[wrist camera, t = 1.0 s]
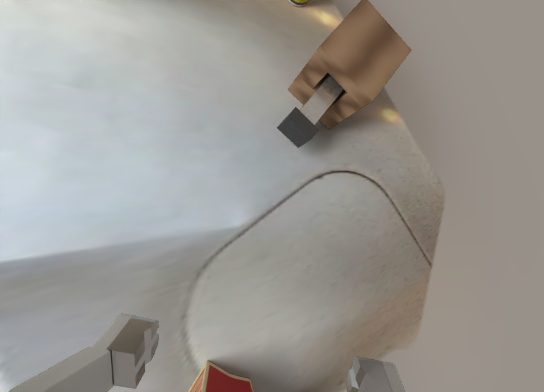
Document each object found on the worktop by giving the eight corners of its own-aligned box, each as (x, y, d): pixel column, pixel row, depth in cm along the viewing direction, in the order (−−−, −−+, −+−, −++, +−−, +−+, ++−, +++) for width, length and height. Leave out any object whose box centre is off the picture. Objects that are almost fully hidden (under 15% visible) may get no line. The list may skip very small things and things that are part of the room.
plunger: (276, 127, 39) (287, 117, 35) (321, 75, 42) (336, 60, 38) (298, 147, 40) (310, 139, 36) (341, 95, 43) (357, 82, 39)
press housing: (287, 89, 46) (320, 45, 34) (323, 49, 48) (364, -4, 37) (328, 129, 47) (372, 100, 36) (360, 89, 50) (411, 50, 38)
